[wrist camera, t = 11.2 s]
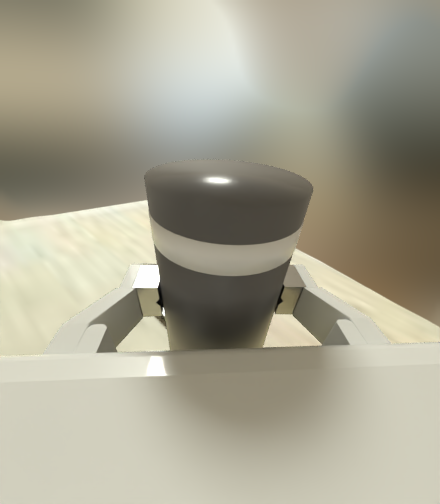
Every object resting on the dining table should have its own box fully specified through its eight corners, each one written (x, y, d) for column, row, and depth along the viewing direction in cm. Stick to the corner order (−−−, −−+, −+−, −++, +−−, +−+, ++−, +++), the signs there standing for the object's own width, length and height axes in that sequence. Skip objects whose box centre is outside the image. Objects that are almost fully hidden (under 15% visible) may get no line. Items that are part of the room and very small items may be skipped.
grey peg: (217, 437, 10) (254, 231, 4) (156, 366, 13) (108, 171, 6) (268, 360, 14) (336, 179, 7) (210, 316, 16) (219, 154, 10)
